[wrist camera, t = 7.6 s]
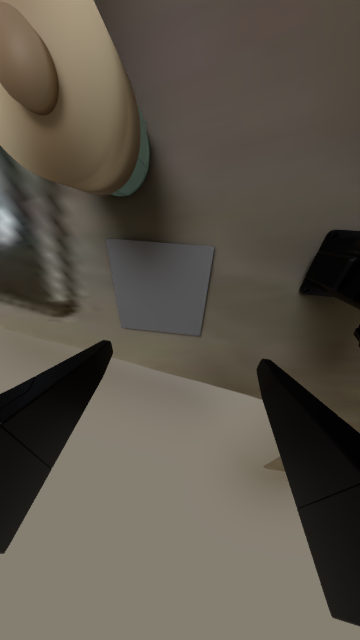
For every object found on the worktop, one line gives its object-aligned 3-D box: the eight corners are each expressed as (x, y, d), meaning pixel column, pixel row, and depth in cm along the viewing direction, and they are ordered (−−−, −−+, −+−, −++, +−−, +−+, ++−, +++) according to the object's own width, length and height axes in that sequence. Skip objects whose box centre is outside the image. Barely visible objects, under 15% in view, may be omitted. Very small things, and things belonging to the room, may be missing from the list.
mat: (213, 246, 17) (214, 246, 16) (199, 333, 23) (199, 335, 22) (107, 238, 17) (105, 238, 17) (122, 325, 23) (121, 327, 23)
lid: (135, 23, 8) (75, -175, 4) (144, 197, 12) (117, 182, 8) (7, 22, 8) (-164, -161, 4) (55, 192, 12) (-12, 175, 8)
